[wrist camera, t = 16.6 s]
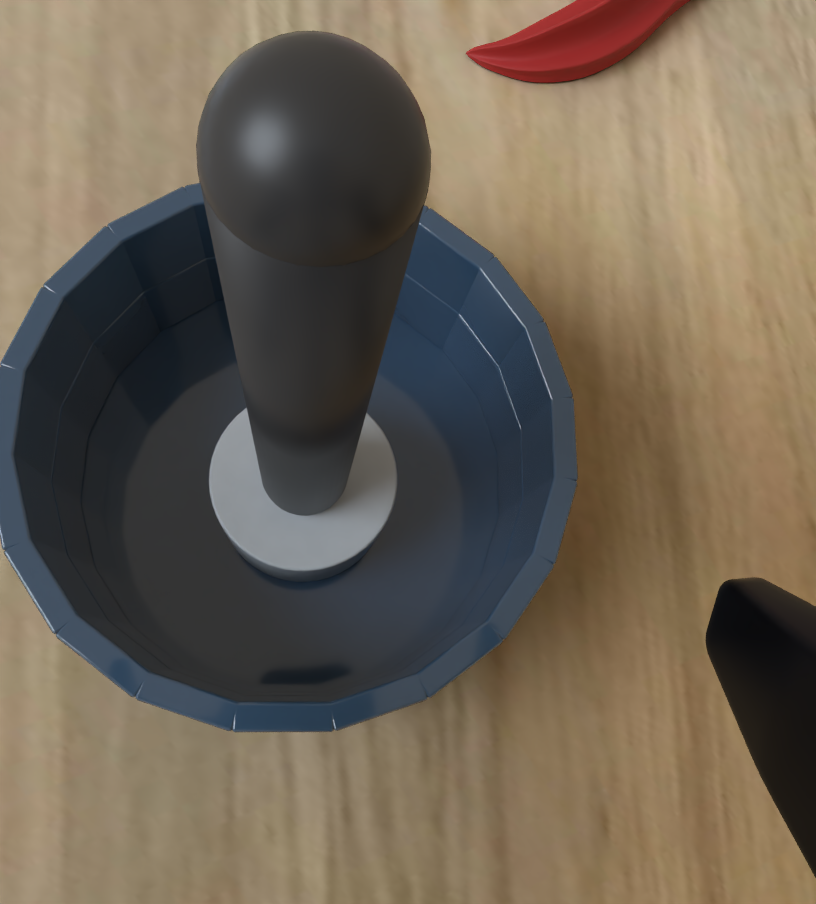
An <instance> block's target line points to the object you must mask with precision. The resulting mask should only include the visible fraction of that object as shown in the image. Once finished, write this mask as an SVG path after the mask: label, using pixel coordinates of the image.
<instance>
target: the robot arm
mask: <svg viewBox="0 0 816 904" xmlns="http://www.w3.org/2000/svg"><path fill="white" fill-rule="evenodd" d="M706 647H707V651H708V655H709V657H710V660H711V662H712V664H713V667H714V669H715V672H716V674H717V676H718V679H719V681H720V683H721V686H722V688H723V690H724V693H725V695H726V697H727V700H728V702H729V705H730V707H731V709H732V712H733V714H734V716H735V719H736V721H737V723H738V726H739V728H740V730H741V733H742V735H743V738H744V740H745V742H746V745H747V747H748V749H749V752H750V754H751V756H752V758H753V761H754V763H755V765H756V767H757V769H758V771H759V774H760V776H761V778H762V780H763V782H764V784H765V785H766V787H767V789H768V791H769V793H770V795H771V797H772V799H773V801H774V803H775V804H776V806H777V808H778V810H779V812H780V814H781V815H782V817H783V819H784V821H785V823H786V824H787V826H788V828H789V830H790V832H791V834H792V835H793V837H794V839H795V841H796V843H797V845H798V846H799V848H800V850H801V852H802V854H803V856H804V857H805V859H806V861H807V863H808V865H809V867H810V868H811V870H812V872H813V874H814V876H815V878H816V606H814V605H812V604H810V603H808V602H806V601H804V600H802V599H800V598H798V597H797V596H795V595H793V594H791V593H789V592H787V591H785V590H783V589H781V588H780V587H778V586H776V585H774V584H772V583H770V582H768V581H766V580H764V579H762V578H755V577H753V578H741V579H731V580H728V581H725V582H724V583H723V584H722V585H721V586H720V588H719V591H718V594H717V598H716V601H715V604H714V608H713V611H712V614H711V618H710V621H709V625H708V628H707V632H706Z"/></svg>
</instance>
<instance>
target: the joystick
mask: <svg viewBox="0 0 816 904" xmlns="http://www.w3.org/2000/svg"><path fill="white" fill-rule="evenodd" d="M196 149H197V167H198V176H199V180H200V185H201V190H202V195H203V200H204V205H205V209H206V214H207V219H208V224H209V229H210V233H211V238H212V243H213V248H214V253H215V258H216V262H217V267H218V272H219V277H220V282H221V286H222V291H223V296H224V301H225V306H226V311H227V315H228V320H229V325H230V330H231V335H232V339H233V344H234V349H235V354H236V359H237V364H238V368H239V373H240V378H241V383H242V388H243V392H244V397H245V402H246V407H247V408H245V409H244V410H243V411H242V412H241V413H240V414H238V415H237V416H236V417H235V418H234V419H233V420H232V422H231V423H230V424H229V425H228V426H227V428H226V429H225V431H224V432H223V434H222V435H221V437H220V439H219V441H218V443H217V445H216V447H215V450H214V453H213V456H212V460H211V465H210V471H209V490H210V497H211V501H212V506H213V508H214V511H215V514H216V516H217V518H218V520H219V522H220V524H221V526H222V528H223V529H224V531H225V533H226V535H227V536H228V538H229V540H230V541H231V543H232V545H233V546H234V547H235V549H236V550H237V551H238V553H239V554H240V555H241V556H242V557H243V558H244V559H245V560H246V561H247V562H249V563H250V564H251V565H252V566H254V567H255V568H257V569H258V570H260V571H262V572H264V573H266V574H268V575H270V576H273V577H276V578H279V579H283V580H288V581H295V582H309V581H317V580H321V579H325V578H329V577H332V576H334V575H337V574H339V573H341V572H343V571H344V570H346V569H348V568H350V567H351V566H352V565H354V564H355V563H356V562H358V561H359V560H360V559H361V558H362V557H363V556H364V555H365V554H366V552H367V551H368V550H369V549H370V547H371V546H372V545H373V543H374V542H375V540H376V539H377V537H378V535H379V534H380V532H381V531H382V529H383V528H384V526H385V524H386V522H387V521H388V519H389V516H390V514H391V512H392V509H393V506H394V502H395V498H396V492H397V468H396V461H395V458H394V454H393V451H392V448H391V446H390V444H389V441H388V439H387V438H386V436H385V434H384V432H383V431H382V429H381V428H380V427H379V425H378V424H377V423H376V422H375V420H374V419H373V418H372V417H371V416H370V415H369V414H368V413H366V412H367V409H368V405H369V402H370V398H371V394H372V391H373V387H374V384H375V380H376V376H377V373H378V369H379V366H380V362H381V358H382V355H383V351H384V348H385V344H386V340H387V337H388V333H389V329H390V326H391V322H392V319H393V315H394V311H395V308H396V304H397V301H398V297H399V293H400V290H401V286H402V283H403V279H404V275H405V272H406V268H407V265H408V261H409V257H410V254H411V250H412V246H413V243H414V239H415V236H416V232H417V228H418V225H419V221H420V218H421V214H422V210H423V207H424V203H425V200H426V196H427V192H428V187H429V180H430V171H431V149H430V144H429V139H428V134H427V129H426V124H425V119H424V116H423V114H422V112H421V110H420V107H419V105H418V103H417V100H416V99H415V97H414V95H413V94H412V92H411V90H410V89H409V87H408V86H407V84H406V83H405V81H404V80H403V79H402V77H401V76H400V74H399V73H398V72H397V71H396V70H395V69H394V68H393V67H392V66H391V65H390V64H389V63H388V62H387V61H386V60H384V59H383V58H381V57H380V56H379V55H377V54H376V53H374V52H373V51H371V50H370V49H368V48H367V47H365V46H364V45H362V44H360V43H358V42H356V41H353V40H351V39H349V38H347V37H343V36H340V35H336V34H333V33H327V32H319V31H296V32H291V33H286V34H281V35H278V36H276V37H273V38H271V39H268V40H266V41H263V42H261V43H258V44H256V45H255V46H253V47H251V48H250V49H248V50H247V51H245V52H244V53H242V54H241V55H240V56H238V57H237V58H236V59H235V60H234V61H233V62H232V63H231V64H230V65H229V66H228V67H227V69H226V70H225V71H224V72H223V74H222V75H221V76H220V78H219V79H218V81H217V82H216V84H215V85H214V87H213V88H212V90H211V91H210V93H209V95H208V98H207V101H206V104H205V106H204V109H203V112H202V115H201V119H200V122H199V126H198V135H197V144H196Z"/></svg>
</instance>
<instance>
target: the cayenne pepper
mask: <svg viewBox="0 0 816 904" xmlns="http://www.w3.org/2000/svg"><path fill="white" fill-rule="evenodd" d="M688 1H690V0H576V1H575V2H573V3H571V4H570V5H568V6H566V7H564V8H562V9H561V10H559V11H557V12H555V13H553V14H551V15H549V16H548V17H546V18H544V19H542V20H540V21H538V22H536V23H535V24H533V25H531V26H529V27H527V28H525V29H524V30H522V31H520V32H518V33H516V34H514V35H512V36H510V37H507V38H505V39H502V40H499V41H497V42H493V43H489V44H484V45H481V46H477V47H474V48H472V49H470V50H469V51H468V52H466V54H467V55H468V56H469V57H470V58H471V59H472V60H474V61H475V62H476V63H477V64H479V65H481V66H483V67H485V68H487V69H489V70H491V71H494V72H496V73H499V74H502V75H505V76H508V77H511V78H515V79H519V80H523V81H529V82H561V81H569V80H574V79H579V78H583V77H586V76H589V75H592V74H595V73H597V72H599V71H601V70H603V69H605V68H607V67H609V66H611V65H613V64H615V63H616V62H618V61H620V60H621V59H623V58H625V57H626V56H627V55H629V54H630V53H632V52H633V51H634V50H635V49H637V48H638V47H639V46H640V45H641V44H642V43H643V42H644V41H645V40H646V39H647V38H648V37H649V36H650V35H651V34H652V33H653V32H654V31H655V30H656V29H657V28H658V27H659V26H660V25H661V24H662V23H663V22H664V21H665V20H666V19H667V18H668V17H670V16H671V15H672V14H673V13H674V12H675V11H677V10H678V9H679V8H680V7H682V6H683V5H684V4H686V3H687V2H688Z"/></svg>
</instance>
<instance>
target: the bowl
mask: <svg viewBox="0 0 816 904" xmlns="http://www.w3.org/2000/svg"><path fill="white" fill-rule="evenodd" d="M107 226H108V227H107ZM107 226H105V227H103V228H102V229H101V230H100V231H99V232H98V233H97V234H96V235H95V236H94V237H93V238H92V239H91V240H90V241H89V242H87V243H86V244H85V245H84V246H83V247H82V248H81V249H80V250H79V251H78V252H77V253H76V254H75V255H74V256H73V257H72V258H71V259H70V260H69V261H68V262H66V263H65V264H64V265H63V266H62V267H61V268H60V269H59V270H58V271H57V272H56V273H55V274H54V275H53V276H52V277H51V278H50V279H49V280H48V281H47V282H45V283H44V285H43V287H42V288H41V289H40V290H39V292H38V294H37V296H36V298H35V300H34V302H33V303H32V305H31V307H30V309H29V311H28V313H27V315H26V316H25V318H24V320H23V322H22V324H21V326H20V328H19V329H18V331H17V333H16V335H15V337H14V339H13V341H12V342H11V344H10V346H9V348H8V350H7V352H6V354H5V355H4V357H3V359H2V361H1V363H0V366H1V367H0V540H1V545H2V548H3V550H5V551H4V554H5V556H6V557H7V559H8V561H9V562H10V564H11V566H12V567H13V569H14V571H15V572H16V574H17V575H18V577H19V579H20V580H21V582H22V584H23V585H24V587H25V589H26V590H27V592H28V593H29V595H30V597H31V598H32V600H33V602H34V603H35V605H36V607H37V608H38V610H39V611H40V613H41V615H42V616H43V618H44V620H45V621H46V623H47V625H48V626H49V628H50V629H51V631H52V633H54V634H56V637H57V638H58V639H59V640H60V641H62V642H63V643H64V644H65V645H67V646H68V647H69V648H71V649H72V650H73V651H74V652H76V653H77V654H78V655H79V656H81V657H82V658H83V659H84V660H86V661H87V662H88V663H89V664H91V665H92V666H93V667H94V668H96V669H97V670H98V671H99V672H101V673H102V674H103V675H105V676H106V677H107V678H108V679H110V680H111V681H112V682H113V683H115V684H116V685H117V686H118V687H120V688H121V689H122V690H123V691H125V692H126V693H127V694H128V695H130V696H131V697H135V698H136V699H137V700H139V701H142V702H145V703H148V704H150V705H153V706H156V707H159V708H162V709H165V710H168V711H171V712H174V713H177V714H180V715H183V716H186V717H189V718H191V719H194V720H197V721H200V722H203V723H206V724H209V725H212V726H215V727H218V728H221V729H224V730H227V731H231V730H233V731H234V732H332V731H333V730H336V731H338V730H341V729H344V728H347V727H350V726H353V725H356V724H359V723H362V722H364V721H367V720H370V719H373V718H376V717H379V716H382V715H385V714H388V713H391V712H394V711H396V710H399V709H402V708H405V707H408V706H411V705H414V704H417V703H420V702H423V701H425V700H427V698H431V697H433V696H434V695H435V694H436V693H438V692H439V691H440V690H442V689H443V688H444V687H445V686H447V685H448V684H449V683H451V682H452V681H453V680H455V679H456V678H457V677H458V676H460V675H461V674H462V673H464V672H465V671H466V670H468V669H469V668H470V667H471V666H473V665H474V664H475V663H477V662H478V661H479V660H481V659H482V658H483V657H484V656H486V655H487V654H488V653H490V652H491V651H492V650H494V649H495V648H496V647H497V646H499V645H500V644H501V643H502V642H503V640H504V639H506V638H507V637H508V635H509V634H510V632H511V631H512V629H513V628H514V626H515V625H516V623H517V622H518V620H519V619H520V617H521V616H522V614H523V613H524V611H525V610H526V608H527V607H528V605H529V604H530V602H531V601H532V599H533V598H534V596H535V595H536V593H537V592H538V590H539V589H540V587H541V586H542V584H543V583H544V581H545V580H546V578H547V577H548V575H549V574H550V572H551V571H552V569H553V567H554V564H555V563H556V560H557V557H558V553H559V549H560V546H561V542H562V538H563V535H564V531H565V527H566V524H567V520H568V516H569V513H570V509H571V505H572V502H573V498H574V494H575V491H576V487H577V482H576V481H577V479H578V473H577V453H576V434H575V414H574V400H573V398H572V397H573V394H572V392H571V389H570V386H569V384H568V381H567V378H566V376H565V373H564V370H563V368H562V365H561V362H560V360H559V357H558V354H557V352H556V349H555V346H554V344H553V341H552V338H551V336H550V333H549V330H548V328H547V325H546V323H545V322H543V321H544V319H543V317H542V316H541V315H540V313H539V312H538V311H537V310H536V308H535V307H534V306H533V304H532V303H531V302H530V300H529V299H528V298H527V296H526V295H525V294H524V293H523V291H522V290H521V289H520V287H519V286H518V285H517V283H516V282H515V281H514V279H513V278H512V277H511V276H510V274H509V273H508V272H507V270H506V269H505V268H504V266H503V265H502V264H501V262H500V261H499V260H498V259H497V258H496V257H494V255H493V254H492V253H491V252H490V251H488V250H487V249H485V248H484V247H483V246H481V245H480V244H479V243H477V242H476V241H475V240H473V239H472V238H471V237H469V236H468V235H466V234H465V233H464V232H462V231H461V230H460V229H458V228H457V227H456V226H454V225H453V224H452V223H450V222H449V221H447V220H446V219H445V218H443V217H442V216H441V215H439V214H438V213H437V212H435V211H434V210H433V209H431V208H430V209H428V207H427V206H425V205H424V207H423V210H422V214H421V218H420V221H419V225H418V228H417V232H416V236H415V239H414V243H413V246H412V250H411V254H410V257H409V261H408V265H407V268H406V272H405V275H404V279H403V283H402V286H401V290H400V293H399V297H398V301H397V304H396V308H395V311H394V315H393V319H392V322H391V326H390V329H389V333H388V337H387V340H386V344H385V348H384V351H383V355H382V358H381V362H380V366H379V369H378V373H377V376H376V380H375V384H374V387H373V391H372V394H371V398H370V402H369V405H368V409H367V412H366V413H368V414H369V415H370V416H371V417H372V418H373V419H374V420H375V422H376V423H377V424H378V425H379V427H380V428H381V429H382V431H383V432H384V434H385V436H386V438H387V439H388V441H389V444H390V446H391V448H392V451H393V454H394V458H395V461H396V468H397V492H396V498H395V502H394V506H393V509H392V512H391V514H390V516H389V519H388V521H387V522H386V524H385V526H384V528H383V529H382V531H381V532H380V534H379V535H378V537H377V539H376V540H375V542H374V543H373V545H372V546H371V547H370V549H369V550H368V551H367V552H366V554H365V555H364V556H363V557H362V558H361V559H360V560H359V561H358V562H356V563H355V564H354V565H352V566H351V567H350V568H348V569H346V570H344V571H343V572H341V573H339V574H337V575H334V576H332V577H329V578H325V579H321V580H317V581H309V582H295V581H288V580H283V579H279V578H276V577H273V576H270V575H268V574H266V573H264V572H262V571H260V570H258V569H257V568H255V567H254V566H252V565H251V564H250V563H249V562H247V561H246V560H245V559H244V558H243V557H242V556H241V555H240V554H239V553H238V551H237V550H236V549H235V547H234V546H233V545H232V543H231V541H230V540H229V538H228V536H227V535H226V533H225V531H224V529H223V528H222V526H221V524H220V522H219V520H218V518H217V516H216V514H215V511H214V508H213V506H212V501H211V497H210V490H209V471H210V465H211V460H212V456H213V453H214V450H215V447H216V445H217V443H218V441H219V439H220V437H221V435H222V434H223V432H224V431H225V429H226V428H227V426H228V425H229V424H230V423H231V422H232V420H233V419H234V418H235V417H236V416H237V415H238V414H240V413H241V412H242V411H243V410H244V409H245V408H247V407H246V402H245V397H244V392H243V388H242V383H241V378H240V373H239V368H238V364H237V359H236V354H235V349H234V344H233V339H232V335H231V330H230V325H229V320H228V315H227V311H226V306H225V301H224V296H223V291H222V286H221V282H220V277H219V272H218V267H217V262H216V258H215V253H214V248H213V243H212V238H211V233H210V229H209V224H208V219H207V214H206V209H205V205H204V200H203V195H202V190H201V185H200V183H197V184H191V185H187V186H185V188H184V187H181V188H179V189H177V190H175V191H173V192H171V193H169V194H167V195H165V196H163V197H161V198H159V199H157V200H155V201H153V202H151V203H149V204H147V205H145V206H143V207H141V208H139V209H137V210H135V211H133V212H131V213H129V214H127V215H125V216H123V217H121V218H119V219H117V220H115V221H113V222H111V223H109V224H108V225H107Z"/></svg>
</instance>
